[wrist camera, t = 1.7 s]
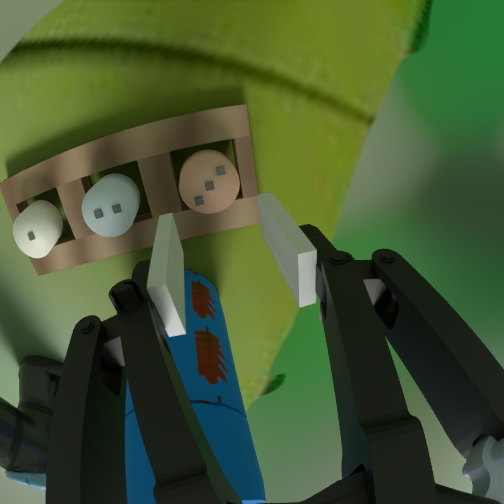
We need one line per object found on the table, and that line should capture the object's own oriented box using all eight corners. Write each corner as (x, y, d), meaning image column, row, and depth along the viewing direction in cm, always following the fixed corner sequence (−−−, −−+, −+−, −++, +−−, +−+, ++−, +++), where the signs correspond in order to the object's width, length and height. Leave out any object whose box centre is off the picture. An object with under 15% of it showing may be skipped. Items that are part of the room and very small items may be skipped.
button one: (36, 248, 24) (25, 263, 21) (19, 207, 21) (5, 220, 18) (69, 237, 24) (59, 253, 22) (53, 193, 22) (39, 206, 19)
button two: (101, 228, 25) (92, 243, 22) (85, 181, 22) (73, 193, 20) (146, 216, 25) (142, 230, 23) (132, 167, 23) (125, 176, 20)
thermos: (121, 285, 31) (95, 500, 10) (200, 254, 31) (241, 495, 11) (161, 340, 37) (172, 516, 16) (231, 317, 37) (280, 501, 17)
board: (44, 266, 27) (38, 275, 26) (8, 178, 21) (-1, 183, 19) (257, 214, 30) (261, 222, 29) (242, 103, 24) (246, 104, 22)
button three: (186, 206, 26) (186, 220, 23) (175, 156, 23) (172, 163, 21) (237, 195, 26) (243, 207, 24) (229, 144, 24) (235, 151, 21)
